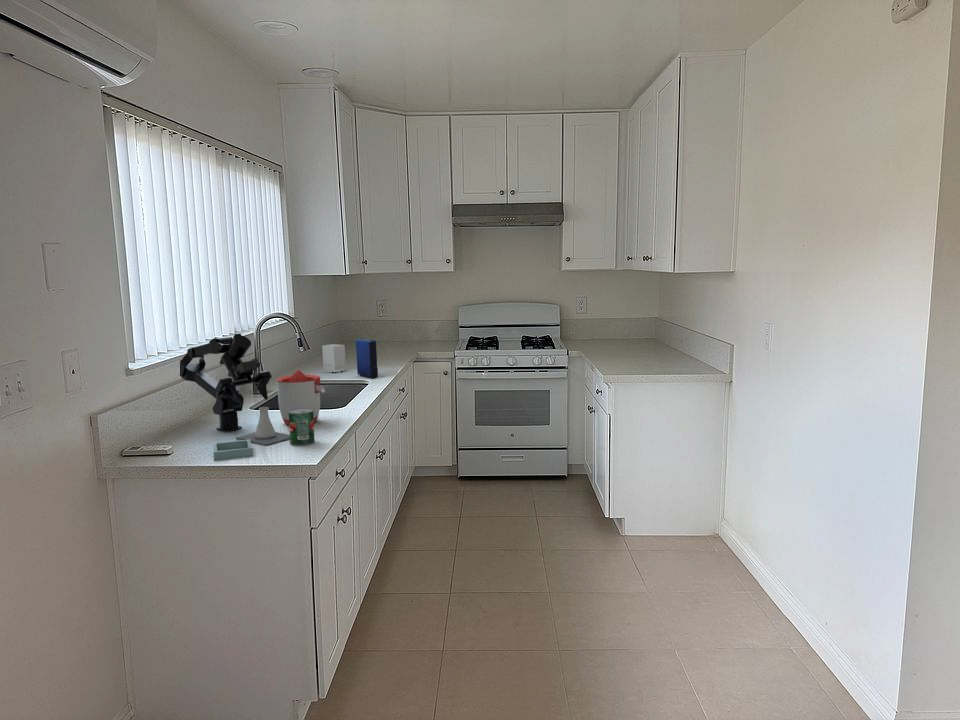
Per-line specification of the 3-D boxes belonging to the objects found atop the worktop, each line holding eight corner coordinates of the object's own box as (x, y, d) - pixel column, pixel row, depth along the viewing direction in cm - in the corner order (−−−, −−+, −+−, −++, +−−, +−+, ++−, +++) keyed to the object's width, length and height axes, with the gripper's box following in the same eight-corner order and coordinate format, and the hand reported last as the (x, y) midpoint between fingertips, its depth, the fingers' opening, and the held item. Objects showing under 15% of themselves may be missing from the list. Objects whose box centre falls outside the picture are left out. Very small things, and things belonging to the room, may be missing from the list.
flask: (253, 435, 221) (251, 406, 219) (275, 433, 223) (273, 404, 222) (254, 440, 214) (253, 411, 213) (277, 438, 217) (275, 409, 215)
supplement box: (346, 371, 358) (345, 344, 356) (334, 373, 351) (333, 346, 349) (334, 370, 363) (333, 343, 361) (322, 372, 356) (321, 345, 353)
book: (379, 378, 336) (378, 339, 333) (371, 379, 332) (369, 340, 329) (364, 374, 346) (363, 337, 343) (355, 376, 342) (354, 338, 339)
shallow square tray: (213, 450, 205) (213, 443, 204) (250, 446, 209) (249, 439, 208) (214, 460, 194) (213, 452, 194) (252, 455, 199) (252, 448, 198)
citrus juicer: (319, 428, 232) (316, 373, 230) (272, 427, 234) (269, 373, 231) (331, 417, 248) (329, 366, 245) (287, 417, 249) (285, 366, 246)
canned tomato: (285, 443, 213) (283, 410, 211) (306, 438, 218) (304, 406, 217) (298, 447, 207) (296, 414, 206) (319, 442, 213) (318, 410, 212)
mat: (236, 439, 218) (235, 437, 218) (265, 431, 228) (265, 429, 228) (266, 446, 209) (266, 444, 209) (295, 437, 219) (295, 436, 219)
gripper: (216, 355, 213) (237, 393, 208) (267, 348, 227) (287, 383, 222) (207, 376, 219) (226, 412, 214) (256, 367, 233) (275, 401, 229)
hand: (254, 401), depth 220 cm, fingers open, 9 cm apart
